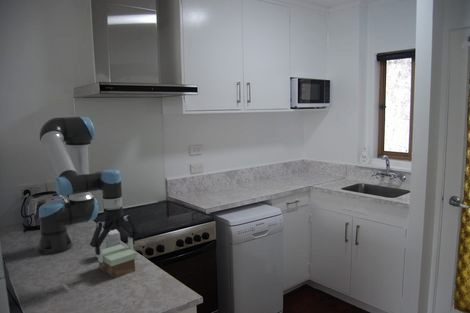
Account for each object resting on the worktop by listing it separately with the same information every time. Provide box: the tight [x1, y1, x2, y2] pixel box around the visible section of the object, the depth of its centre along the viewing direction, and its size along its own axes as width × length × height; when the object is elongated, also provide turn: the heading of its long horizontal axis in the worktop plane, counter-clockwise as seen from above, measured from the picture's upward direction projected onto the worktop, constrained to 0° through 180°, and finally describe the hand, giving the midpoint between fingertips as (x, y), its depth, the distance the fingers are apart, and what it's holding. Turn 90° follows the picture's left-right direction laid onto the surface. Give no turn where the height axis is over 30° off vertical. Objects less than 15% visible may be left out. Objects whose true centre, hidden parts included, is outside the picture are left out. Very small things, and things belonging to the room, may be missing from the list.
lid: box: [95, 244, 137, 266], centre depth 150 cm, size 14×11×3 cm
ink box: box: [105, 229, 122, 248], centre depth 167 cm, size 9×5×12 cm, turn 33°
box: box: [98, 259, 136, 279], centre depth 151 cm, size 14×9×6 cm, turn 45°
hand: (116, 256), depth 150 cm, fingers open, 13 cm apart
